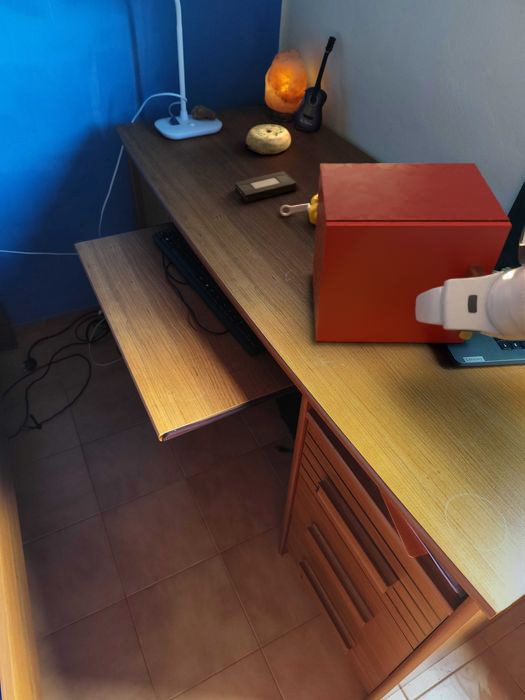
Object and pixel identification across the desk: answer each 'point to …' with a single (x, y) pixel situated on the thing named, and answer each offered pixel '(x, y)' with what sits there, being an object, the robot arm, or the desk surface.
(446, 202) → the cabinet
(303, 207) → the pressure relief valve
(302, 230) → the desk surface
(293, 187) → the vhs tape
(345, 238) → the door
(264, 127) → the bagel
